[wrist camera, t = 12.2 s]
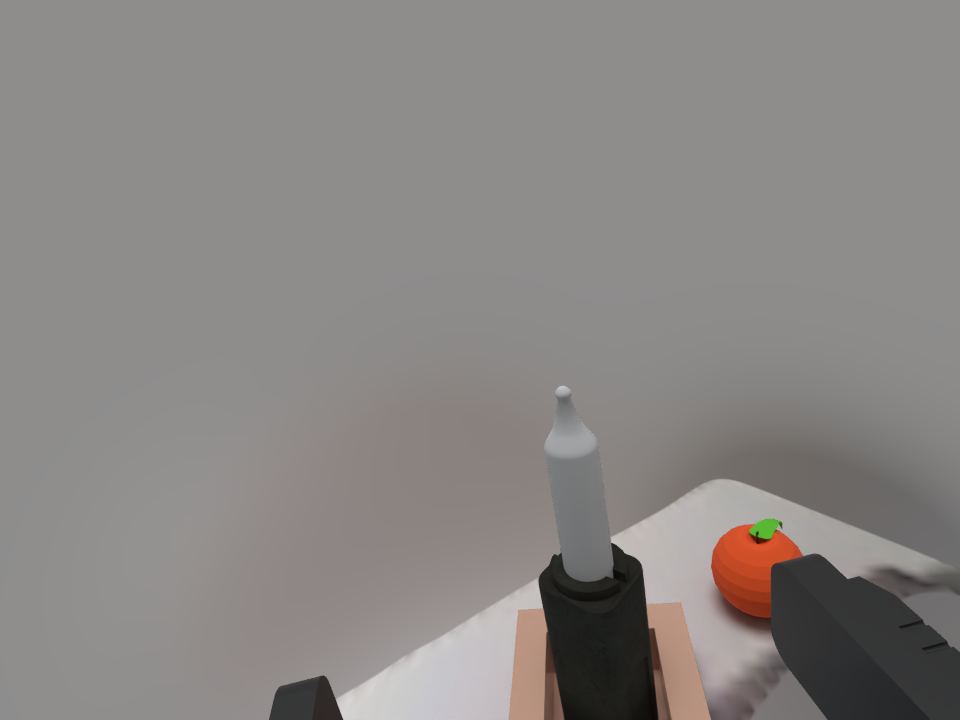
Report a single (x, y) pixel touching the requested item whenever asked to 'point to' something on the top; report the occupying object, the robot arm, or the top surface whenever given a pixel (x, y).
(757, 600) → the clementine
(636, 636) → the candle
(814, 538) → the top surface
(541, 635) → the holder block
